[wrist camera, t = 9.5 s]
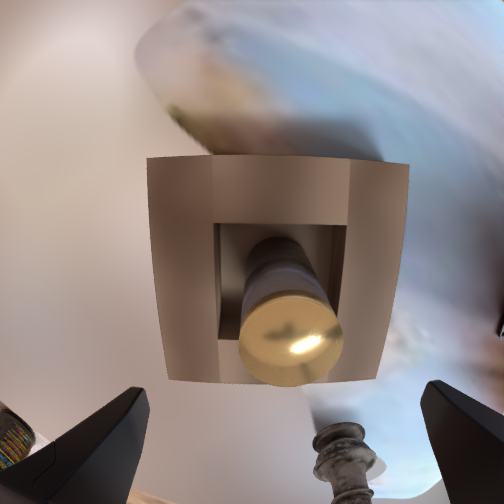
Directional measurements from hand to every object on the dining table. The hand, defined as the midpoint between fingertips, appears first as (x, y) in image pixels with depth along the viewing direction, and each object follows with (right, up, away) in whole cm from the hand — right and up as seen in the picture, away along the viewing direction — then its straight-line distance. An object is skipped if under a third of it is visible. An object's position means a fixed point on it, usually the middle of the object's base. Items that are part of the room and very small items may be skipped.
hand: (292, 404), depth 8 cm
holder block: (0, +4, +12) cm, 13 cm away
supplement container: (-33, -19, +20) cm, 43 cm away
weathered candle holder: (+7, -14, +17) cm, 23 cm away
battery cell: (0, +4, +12) cm, 12 cm away
